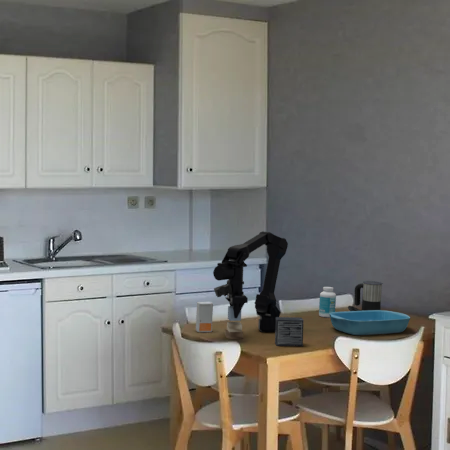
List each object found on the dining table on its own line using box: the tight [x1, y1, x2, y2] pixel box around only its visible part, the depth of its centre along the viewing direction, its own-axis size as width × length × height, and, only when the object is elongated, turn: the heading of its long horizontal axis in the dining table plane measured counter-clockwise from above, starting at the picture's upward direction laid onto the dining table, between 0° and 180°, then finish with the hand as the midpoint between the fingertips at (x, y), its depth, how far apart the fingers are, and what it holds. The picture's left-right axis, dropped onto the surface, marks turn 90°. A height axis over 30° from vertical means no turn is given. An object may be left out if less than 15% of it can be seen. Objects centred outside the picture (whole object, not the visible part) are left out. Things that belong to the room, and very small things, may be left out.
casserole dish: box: [329, 309, 411, 336], centre depth 381 cm, size 37×22×7 cm, turn 117°
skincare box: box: [195, 301, 214, 333], centre depth 367 cm, size 6×4×12 cm
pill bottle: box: [318, 286, 337, 319], centre depth 409 cm, size 8×7×14 cm
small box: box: [274, 316, 305, 347], centre depth 347 cm, size 11×6×10 cm, turn 92°
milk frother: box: [347, 280, 384, 311], centre depth 420 cm, size 14×16×15 cm
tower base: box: [224, 329, 244, 340], centre depth 357 cm, size 6×6×3 cm
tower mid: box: [226, 321, 243, 332], centre depth 357 cm, size 5×5×3 cm
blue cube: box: [227, 305, 242, 322], centre depth 356 cm, size 4×4×5 cm
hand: (234, 317), depth 357 cm, fingers closed on blue cube, 4 cm apart
